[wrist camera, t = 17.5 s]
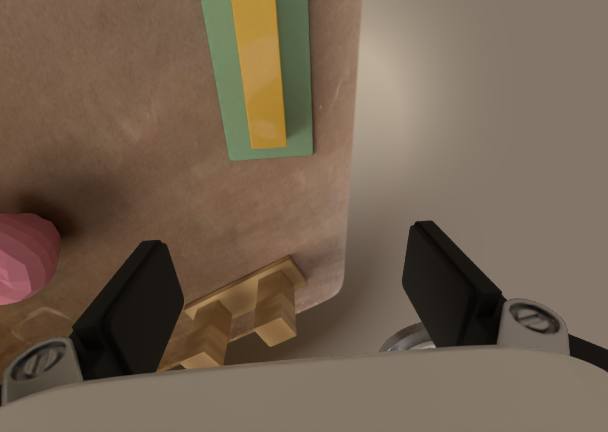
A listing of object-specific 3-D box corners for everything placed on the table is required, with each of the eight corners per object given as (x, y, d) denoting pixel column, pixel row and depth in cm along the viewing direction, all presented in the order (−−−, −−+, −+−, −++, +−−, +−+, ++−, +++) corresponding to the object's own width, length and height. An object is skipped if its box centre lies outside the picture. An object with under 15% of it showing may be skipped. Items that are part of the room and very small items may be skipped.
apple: (-17, 232, 33) (-126, 295, 24) (3, 176, 30) (-112, 223, 21) (72, 270, 36) (5, 337, 27) (97, 222, 33) (32, 280, 24)
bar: (231, -32, 23) (224, -44, 20) (273, -34, 23) (272, -46, 20) (254, 141, 30) (251, 149, 27) (286, 139, 30) (287, 147, 27)
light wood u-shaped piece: (289, 254, 37) (291, 306, 29) (307, 279, 40) (313, 333, 32) (185, 305, 40) (162, 364, 32) (207, 326, 42) (190, 386, 35)
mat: (312, 154, 31) (313, 155, 31) (230, 159, 31) (229, 160, 30) (305, -69, 22) (305, -71, 22) (190, -65, 22) (189, -67, 22)
